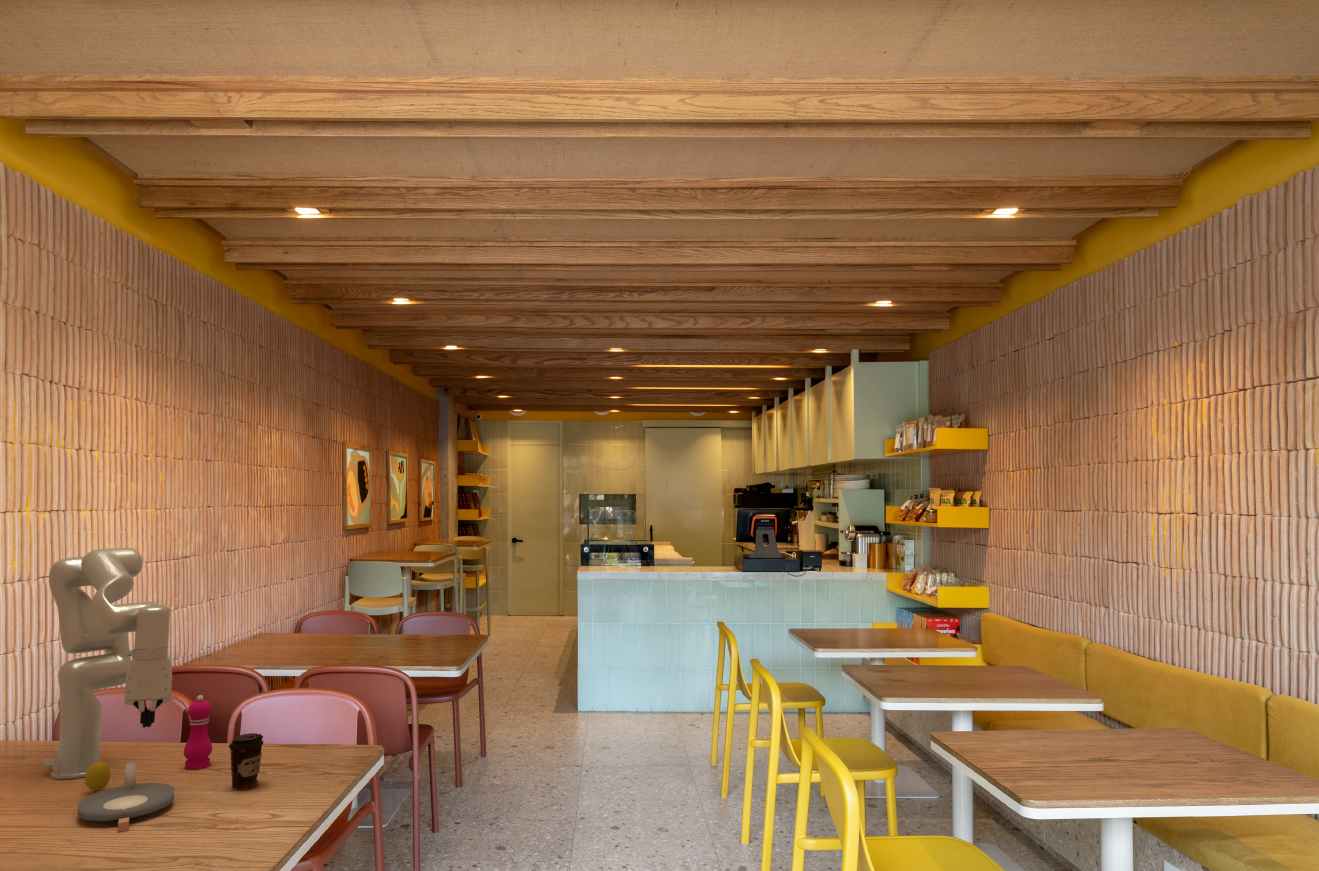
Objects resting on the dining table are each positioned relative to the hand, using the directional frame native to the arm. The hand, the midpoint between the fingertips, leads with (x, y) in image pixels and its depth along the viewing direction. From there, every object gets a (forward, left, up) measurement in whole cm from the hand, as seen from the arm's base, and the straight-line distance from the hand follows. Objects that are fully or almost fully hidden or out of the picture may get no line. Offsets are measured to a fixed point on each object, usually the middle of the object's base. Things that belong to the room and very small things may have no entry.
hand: (147, 725), depth 214 cm
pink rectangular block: (+4, -21, -18) cm, 28 cm away
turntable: (0, -9, -17) cm, 19 cm away
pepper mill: (+4, +25, -18) cm, 31 cm away
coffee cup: (+23, +5, -18) cm, 30 cm away
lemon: (-14, +7, -18) cm, 24 cm away
